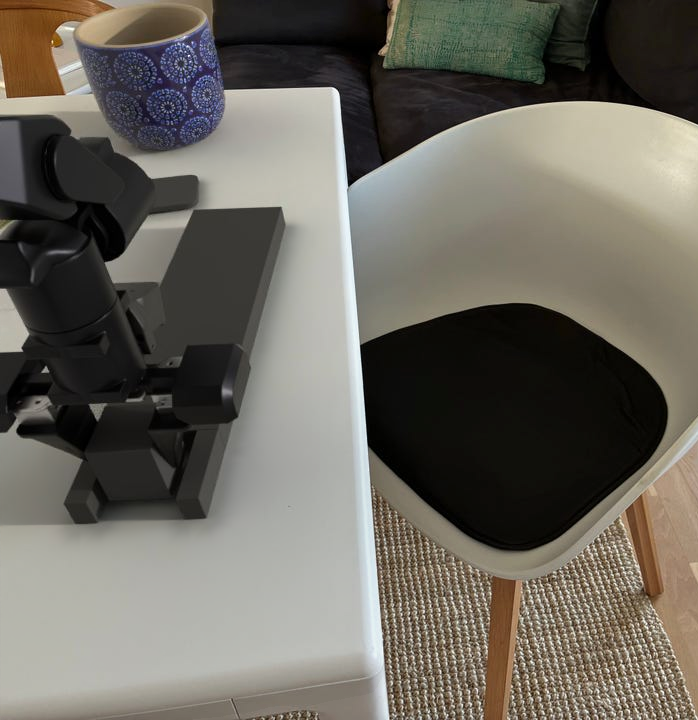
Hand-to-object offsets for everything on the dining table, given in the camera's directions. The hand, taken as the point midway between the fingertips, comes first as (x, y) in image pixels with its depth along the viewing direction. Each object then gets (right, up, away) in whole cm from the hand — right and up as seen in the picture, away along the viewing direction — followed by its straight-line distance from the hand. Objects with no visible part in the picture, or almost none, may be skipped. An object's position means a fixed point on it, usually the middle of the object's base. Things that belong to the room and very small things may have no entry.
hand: (144, 464), depth 60 cm
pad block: (0, -1, +1) cm, 1 cm away
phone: (-16, +27, +34) cm, 47 cm away
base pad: (-1, +10, +15) cm, 18 cm away
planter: (-17, +39, +48) cm, 65 cm away
